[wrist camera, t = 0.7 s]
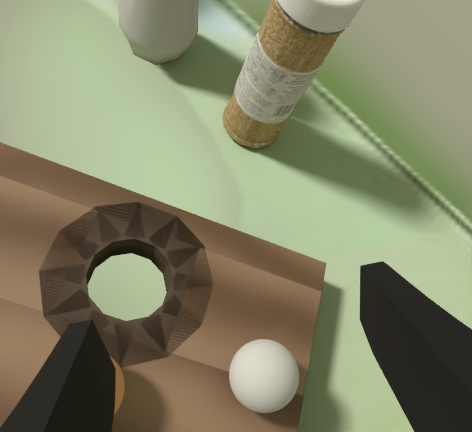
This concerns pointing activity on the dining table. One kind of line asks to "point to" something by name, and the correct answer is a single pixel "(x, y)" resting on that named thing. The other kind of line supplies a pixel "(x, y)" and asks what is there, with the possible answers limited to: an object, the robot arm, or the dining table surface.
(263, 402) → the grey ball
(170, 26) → the salt shaker
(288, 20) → the spice jar
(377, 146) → the dining table surface
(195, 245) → the board
